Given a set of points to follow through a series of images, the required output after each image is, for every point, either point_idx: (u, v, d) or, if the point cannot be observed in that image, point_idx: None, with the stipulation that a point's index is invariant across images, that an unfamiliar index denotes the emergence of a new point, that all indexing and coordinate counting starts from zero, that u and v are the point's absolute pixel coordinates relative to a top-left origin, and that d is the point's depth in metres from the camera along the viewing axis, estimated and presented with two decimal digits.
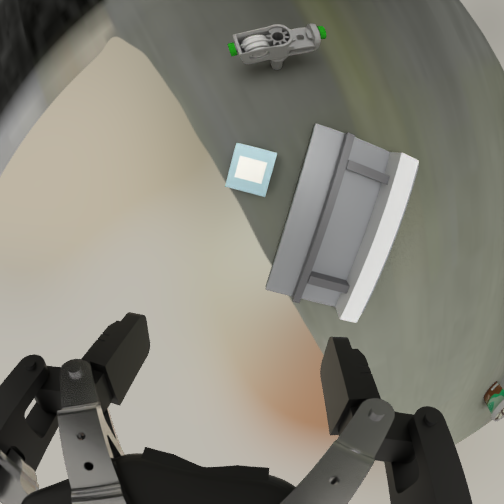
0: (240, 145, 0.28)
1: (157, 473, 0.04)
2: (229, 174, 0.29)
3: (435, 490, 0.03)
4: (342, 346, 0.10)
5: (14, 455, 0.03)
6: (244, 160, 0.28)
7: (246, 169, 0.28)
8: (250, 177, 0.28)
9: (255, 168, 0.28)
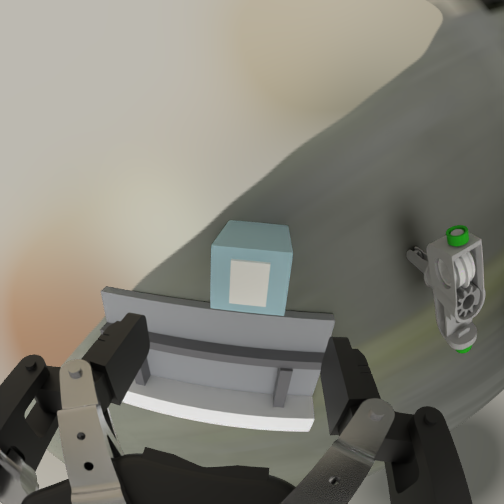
0: (288, 260, 0.17)
1: (157, 473, 0.04)
2: (233, 249, 0.17)
3: (435, 490, 0.03)
4: (342, 346, 0.10)
5: (14, 455, 0.03)
6: (263, 273, 0.17)
7: (247, 278, 0.17)
8: (235, 285, 0.17)
9: (252, 291, 0.17)
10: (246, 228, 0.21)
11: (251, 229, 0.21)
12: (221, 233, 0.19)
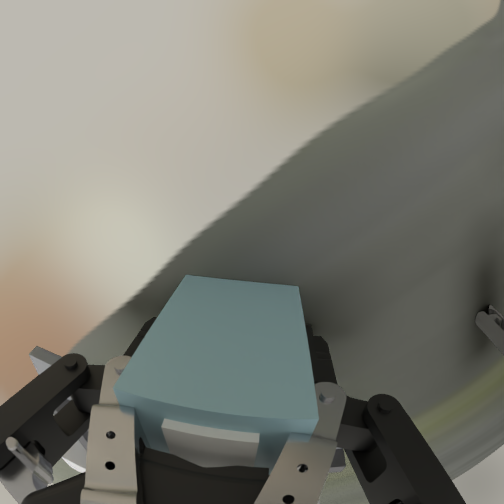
0: (305, 430, 0.05)
1: (157, 473, 0.04)
2: (164, 406, 0.05)
3: (408, 476, 0.04)
4: None
5: (33, 449, 0.04)
6: (243, 452, 0.05)
7: (207, 454, 0.06)
8: (182, 457, 0.06)
9: None
10: (212, 305, 0.10)
11: (222, 309, 0.10)
12: (153, 329, 0.08)
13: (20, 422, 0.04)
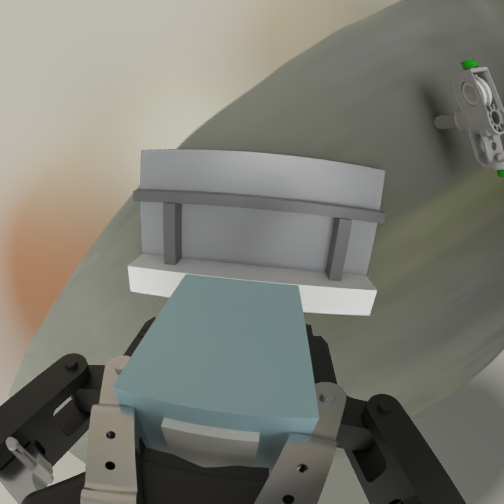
0: (306, 429, 0.05)
1: (157, 473, 0.04)
2: (164, 405, 0.05)
3: (408, 476, 0.04)
4: None
5: (33, 449, 0.04)
6: (243, 451, 0.05)
7: (207, 453, 0.06)
8: (182, 456, 0.06)
9: None
10: (212, 304, 0.10)
11: (222, 308, 0.10)
12: (152, 328, 0.08)
13: (20, 422, 0.04)
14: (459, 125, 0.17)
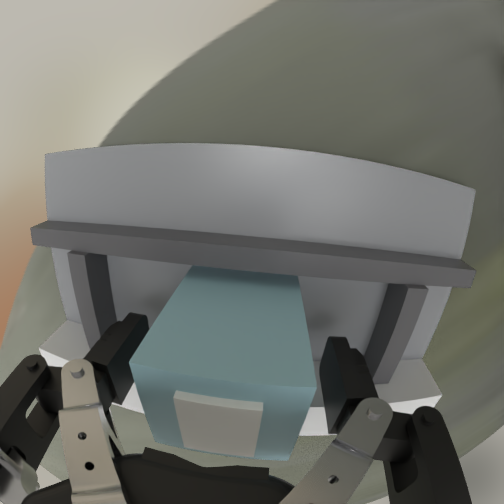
0: (305, 398, 0.06)
1: (157, 473, 0.04)
2: (177, 376, 0.06)
3: (434, 489, 0.03)
4: (340, 345, 0.10)
5: (15, 455, 0.03)
6: (248, 421, 0.06)
7: (214, 425, 0.07)
8: (190, 431, 0.07)
9: (226, 441, 0.07)
10: (218, 291, 0.11)
11: (228, 294, 0.11)
12: (164, 311, 0.09)
13: None
14: None
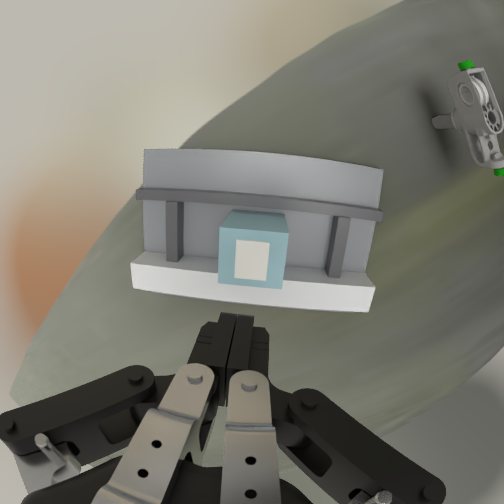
0: (285, 239, 0.20)
1: None
2: (238, 230, 0.20)
3: (360, 467, 0.05)
4: (244, 322, 0.11)
5: (64, 450, 0.04)
6: (264, 250, 0.20)
7: (250, 255, 0.20)
8: (240, 262, 0.20)
9: (254, 267, 0.20)
10: (248, 215, 0.24)
11: (252, 216, 0.24)
12: (227, 219, 0.22)
13: (58, 423, 0.05)
14: (456, 125, 0.18)
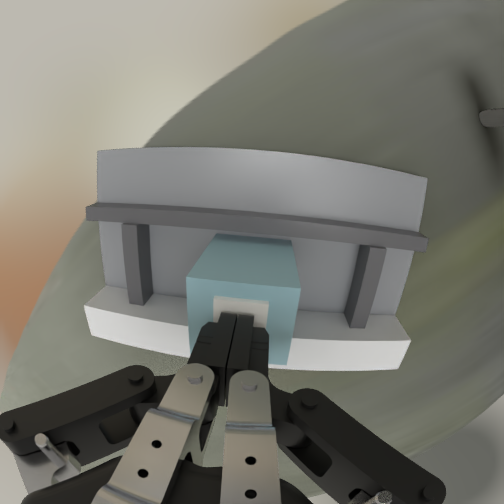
0: (294, 298, 0.12)
1: None
2: (217, 283, 0.12)
3: (360, 467, 0.05)
4: (244, 322, 0.11)
5: (64, 450, 0.04)
6: (259, 315, 0.12)
7: None
8: None
9: None
10: (237, 246, 0.16)
11: (243, 248, 0.16)
12: (203, 255, 0.14)
13: (58, 423, 0.05)
14: None
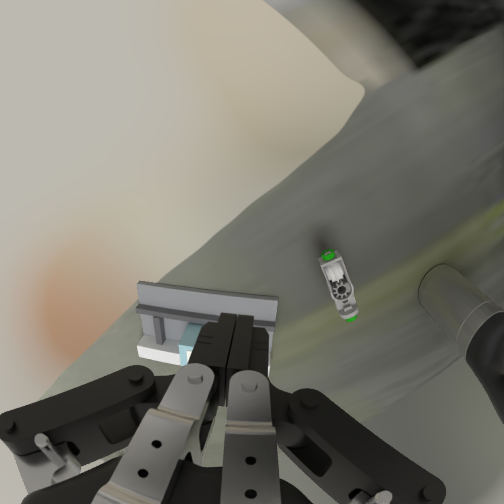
0: None
1: None
2: (187, 346, 0.39)
3: (360, 467, 0.05)
4: (244, 322, 0.11)
5: (64, 450, 0.04)
6: None
7: None
8: None
9: None
10: (196, 328, 0.43)
11: (198, 329, 0.43)
12: (183, 334, 0.41)
13: (58, 423, 0.05)
14: None
